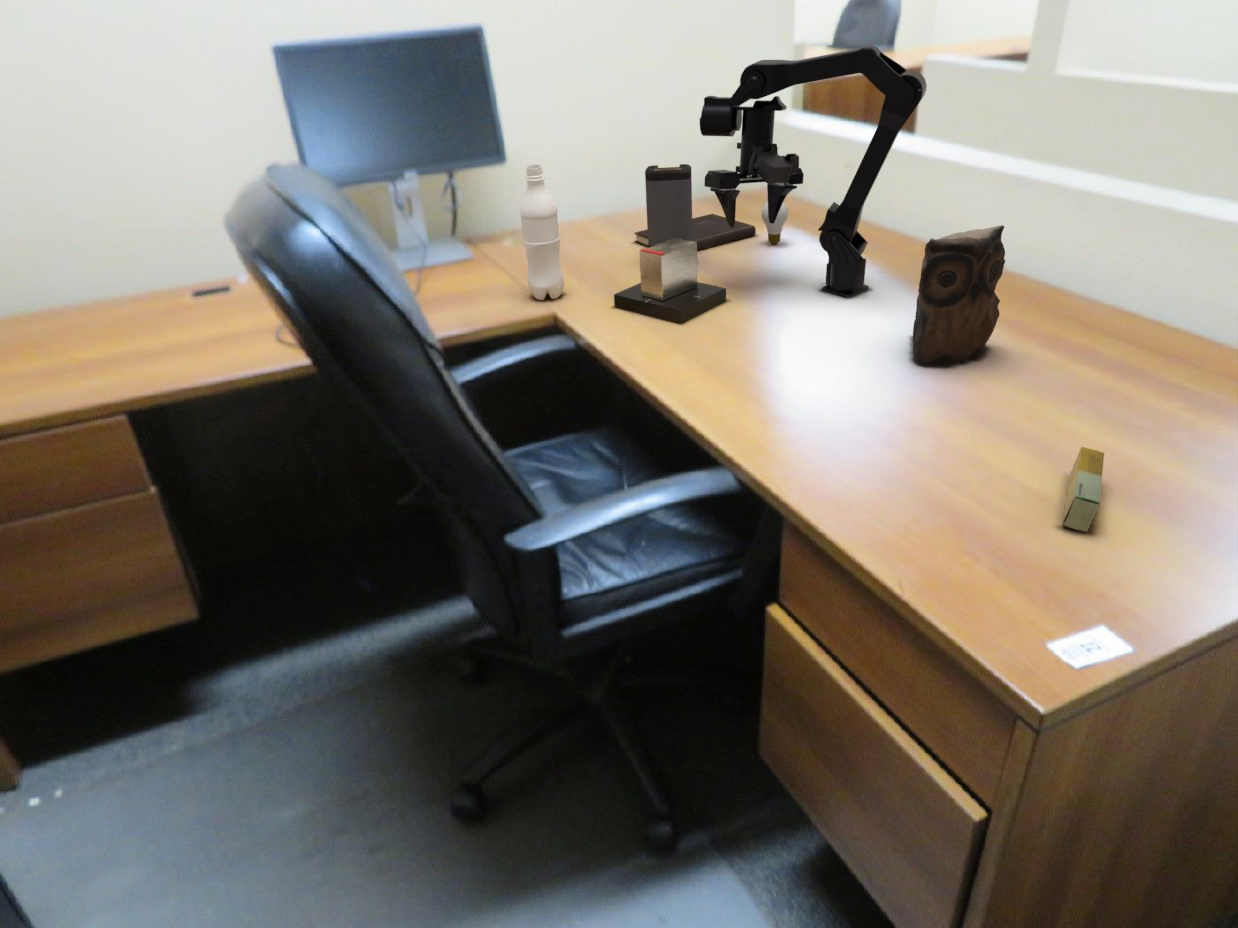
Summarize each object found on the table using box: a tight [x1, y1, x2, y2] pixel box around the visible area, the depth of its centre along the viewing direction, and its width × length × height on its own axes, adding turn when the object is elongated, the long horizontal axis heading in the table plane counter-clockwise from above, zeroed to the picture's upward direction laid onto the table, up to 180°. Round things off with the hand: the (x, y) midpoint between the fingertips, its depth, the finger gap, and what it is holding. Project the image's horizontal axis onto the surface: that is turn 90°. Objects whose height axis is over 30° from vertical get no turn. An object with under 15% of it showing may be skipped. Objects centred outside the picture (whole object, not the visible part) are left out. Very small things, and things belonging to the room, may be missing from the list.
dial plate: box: [613, 282, 727, 325], centre depth 162 cm, size 16×14×3 cm
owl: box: [912, 224, 1006, 368], centre depth 130 cm, size 13×13×20 cm
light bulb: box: [760, 201, 790, 246], centre depth 188 cm, size 6×6×10 cm
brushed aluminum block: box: [638, 238, 699, 301], centre depth 159 cm, size 10×5×9 cm, turn 136°
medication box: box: [1061, 446, 1105, 534], centre depth 97 cm, size 12×3×4 cm, turn 152°
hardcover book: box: [634, 213, 757, 252], centre depth 198 cm, size 16×23×2 cm
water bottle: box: [519, 164, 565, 301], centre depth 164 cm, size 7×7×25 cm
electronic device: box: [644, 163, 693, 248], centre depth 179 cm, size 9×6×20 cm, turn 84°
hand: (751, 225), depth 162 cm, fingers open, 9 cm apart
